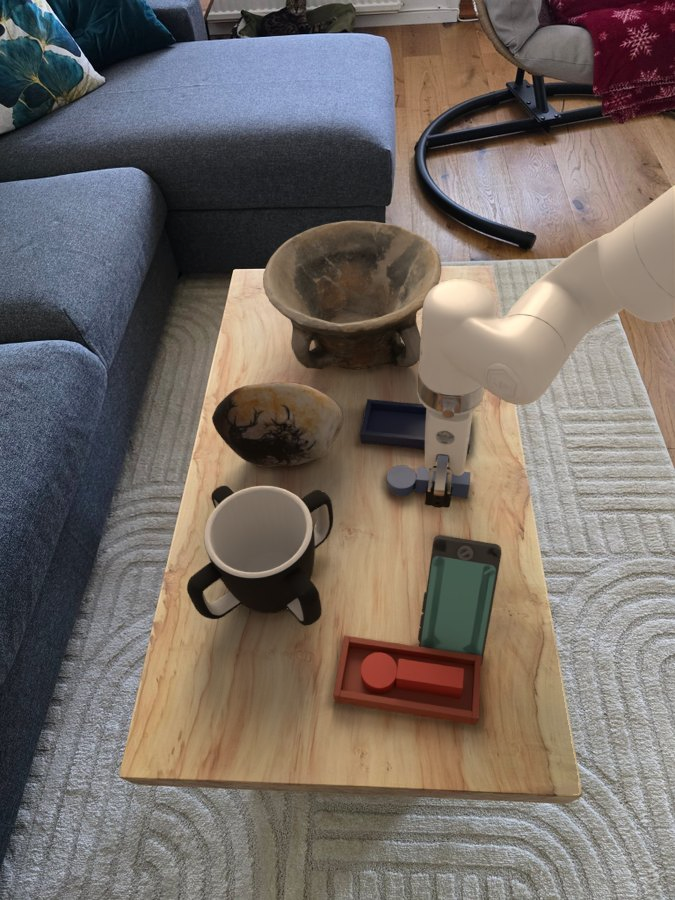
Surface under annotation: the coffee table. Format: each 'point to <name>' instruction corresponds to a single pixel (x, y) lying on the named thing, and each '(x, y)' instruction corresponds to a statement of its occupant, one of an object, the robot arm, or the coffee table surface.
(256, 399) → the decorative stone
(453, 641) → the smartphone
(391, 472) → the blue spoon
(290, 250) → the bowl
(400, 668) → the red spoon
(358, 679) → the red tray
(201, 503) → the coffee table surface
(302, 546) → the mug
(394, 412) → the blue tray
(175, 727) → the coffee table surface
